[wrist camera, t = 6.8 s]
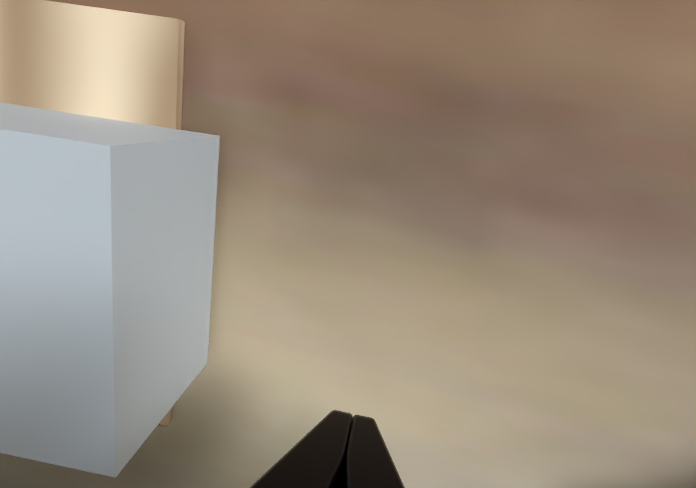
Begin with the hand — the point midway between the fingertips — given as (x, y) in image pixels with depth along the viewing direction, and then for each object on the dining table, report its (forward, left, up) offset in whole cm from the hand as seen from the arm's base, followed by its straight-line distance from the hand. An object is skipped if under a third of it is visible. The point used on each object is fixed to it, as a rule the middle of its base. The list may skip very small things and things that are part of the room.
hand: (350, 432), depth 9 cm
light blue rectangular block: (+6, 0, -5) cm, 8 cm away
